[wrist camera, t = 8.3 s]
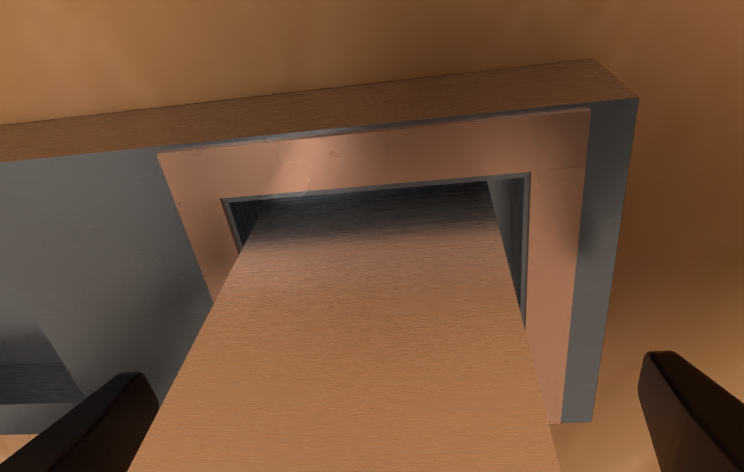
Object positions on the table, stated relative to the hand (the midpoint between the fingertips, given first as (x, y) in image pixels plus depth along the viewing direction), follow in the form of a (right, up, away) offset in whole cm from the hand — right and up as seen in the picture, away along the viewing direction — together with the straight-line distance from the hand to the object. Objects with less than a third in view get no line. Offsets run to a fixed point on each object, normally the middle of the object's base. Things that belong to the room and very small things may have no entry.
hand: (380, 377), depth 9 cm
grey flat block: (-5, +2, +5) cm, 7 cm away
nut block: (0, +2, +3) cm, 4 cm away
